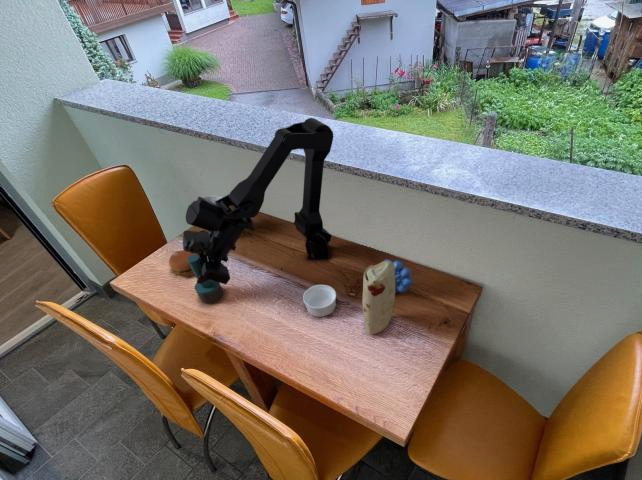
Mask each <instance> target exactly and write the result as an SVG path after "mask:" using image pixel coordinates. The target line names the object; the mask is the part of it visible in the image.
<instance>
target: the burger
mask: <svg viewBox="0 0 642 480" xmlns="http://www.w3.org/2000/svg"><path fill="white" fill-rule="evenodd" d="M191 255H199V254H198V253H190V252H187V251H185V250H184V249H182V250H177V251H175V252H174V253H172V254H171V255H170V257H169V259H168V264H169V267H170V268H171V269H170V270H171V273H173V274H175V275H176V276H178V277H184V278H187V277H191V276H195V274H194V272H193V270H192V268H191V266H190V265H189V263H188V261H187V258H188V257H189V256H191ZM199 257H200V256H199Z"/></svg>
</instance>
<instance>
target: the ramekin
mask: <svg viewBox="0 0 642 480" xmlns="http://www.w3.org/2000/svg"><path fill="white" fill-rule="evenodd" d="M302 300H303V303H304V304H305V307H306V309H307V313H309V314H310V315H312V316H315V317H318V318H319V317H325V316H329V315H330V314H331V313H333V312H334V310H335V309H336V306H337V305H336V304H337V301H336V300H337V292H336V290H335V288H333V287H332V286H330V285H327V284H315V285H312V286H310V287H308V288H307V289H306V290H305V292H304V293H303V296H302Z"/></svg>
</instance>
